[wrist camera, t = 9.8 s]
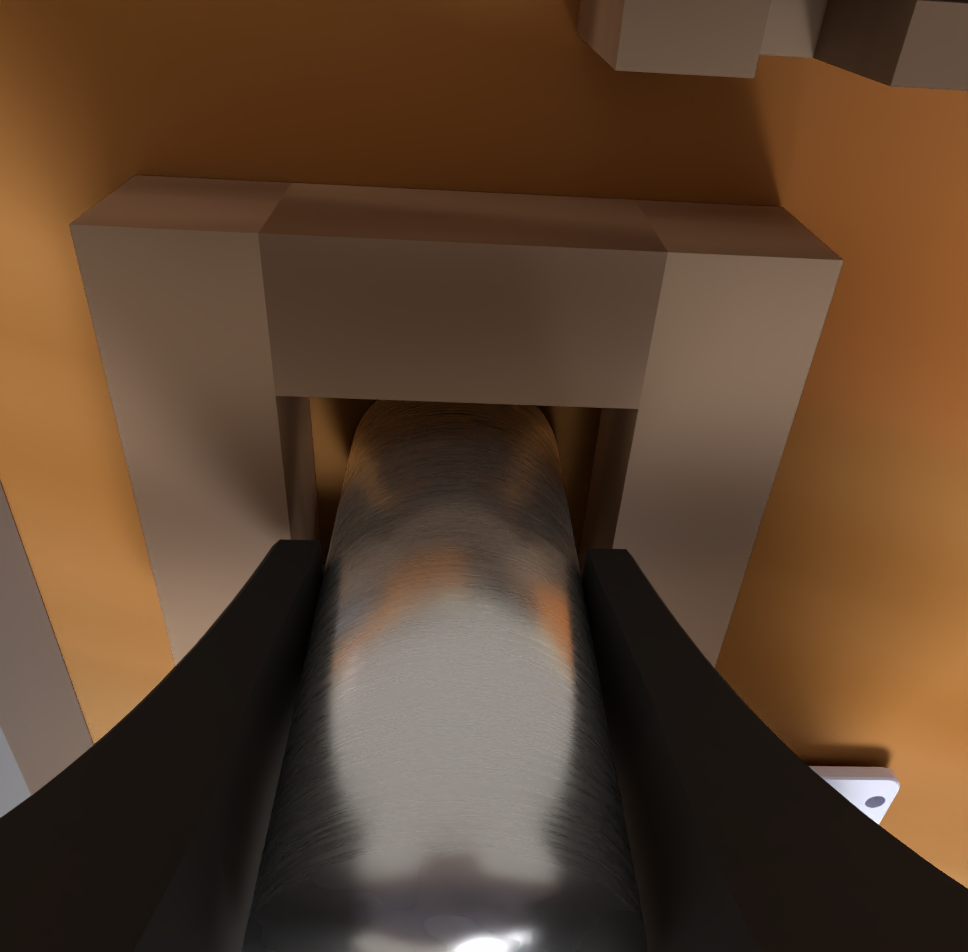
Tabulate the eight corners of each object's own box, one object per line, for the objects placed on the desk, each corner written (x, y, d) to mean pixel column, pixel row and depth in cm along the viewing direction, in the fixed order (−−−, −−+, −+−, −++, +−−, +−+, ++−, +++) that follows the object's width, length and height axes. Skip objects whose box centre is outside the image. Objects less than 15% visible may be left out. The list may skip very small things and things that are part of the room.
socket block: (665, 651, 19) (691, 740, 16) (222, 640, 18) (191, 733, 16) (782, 206, 13) (843, 260, 11) (135, 175, 12) (69, 224, 10)
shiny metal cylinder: (547, 547, 17) (614, 1045, 9) (354, 541, 16) (264, 1047, 9) (569, 375, 14) (683, 852, 7) (346, 366, 14) (215, 847, 7)
